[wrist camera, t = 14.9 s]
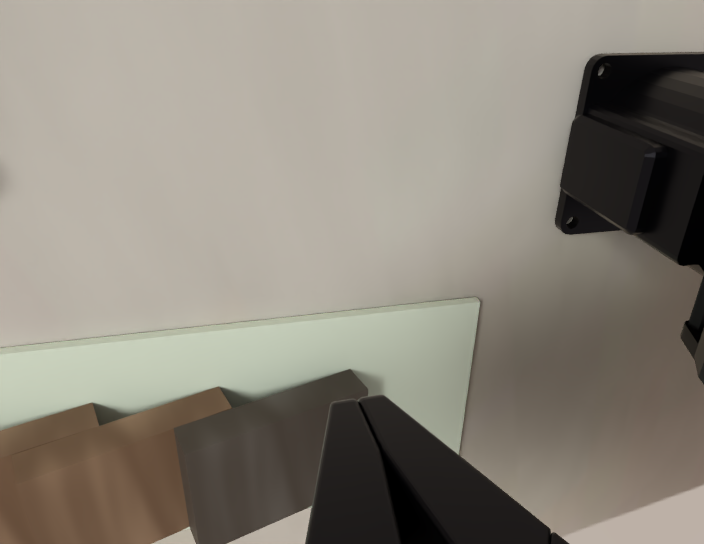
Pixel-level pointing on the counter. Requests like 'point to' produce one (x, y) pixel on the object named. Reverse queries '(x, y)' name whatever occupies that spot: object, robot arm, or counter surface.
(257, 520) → the tile
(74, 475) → the brown wooden block
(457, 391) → the runner mat
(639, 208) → the robot arm
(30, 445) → the domino
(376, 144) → the counter surface
